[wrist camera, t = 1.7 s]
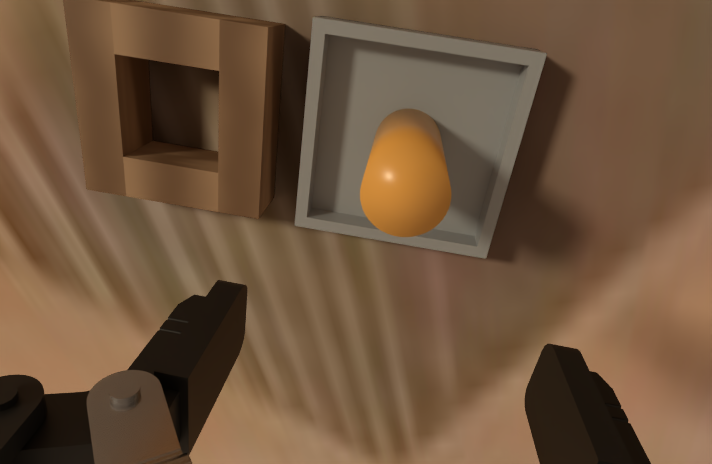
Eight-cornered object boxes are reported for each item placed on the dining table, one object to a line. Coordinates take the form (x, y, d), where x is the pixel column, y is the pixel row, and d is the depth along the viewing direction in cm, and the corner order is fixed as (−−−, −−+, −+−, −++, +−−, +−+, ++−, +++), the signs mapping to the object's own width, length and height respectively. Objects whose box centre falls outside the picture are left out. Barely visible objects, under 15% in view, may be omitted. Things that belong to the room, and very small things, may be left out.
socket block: (285, 23, 30) (268, 27, 27) (273, 197, 36) (258, 218, 32) (103, -5, 31) (62, -5, 27) (118, 170, 36) (86, 189, 33)
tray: (537, 49, 30) (547, 53, 27) (481, 242, 36) (485, 258, 33) (320, 15, 30) (312, 17, 28) (301, 211, 36) (294, 225, 34)
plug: (447, 114, 31) (460, 160, 22) (433, 177, 33) (440, 243, 24) (380, 103, 31) (366, 145, 22) (370, 167, 33) (354, 229, 24)
